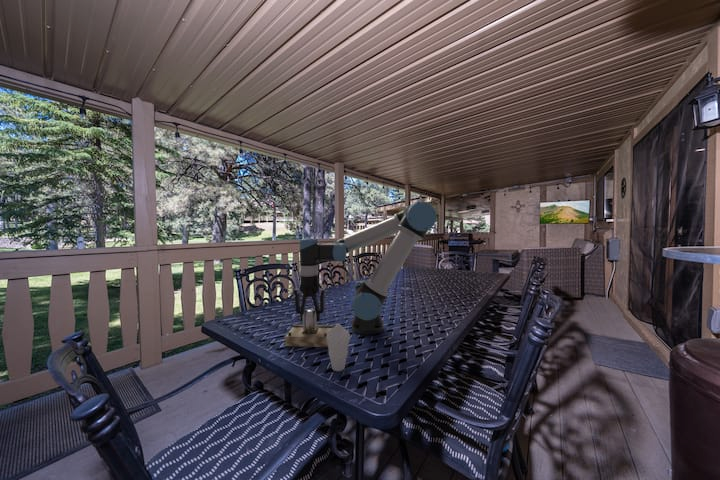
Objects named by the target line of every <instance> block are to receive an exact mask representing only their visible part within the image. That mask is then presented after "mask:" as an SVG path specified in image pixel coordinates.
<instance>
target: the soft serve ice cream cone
mask: <svg viewBox="0 0 720 480" xmlns="http://www.w3.org/2000/svg"><path fill="white" fill-rule="evenodd" d="M326 339H327V342H328V347H327V348H328V356H329V360H330V365H331V369H332V370H333V371H335V372H342V371H343V370H345V367H346V361H347V356H348V353H349V352H348V350H349V349H348V348H349V343H350V341H351V334H350V332H349V331H348V330H347V329H345V328H344V327H343V326H342V325H341V324H340V323H338V322H337V323H336V324H335V326H333V328H332V329H331V330H330V331H329V333H327V336H326Z"/></svg>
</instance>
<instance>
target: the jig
mask: <svg viewBox="0 0 720 480" xmlns="http://www.w3.org/2000/svg"><path fill="white" fill-rule="evenodd" d="M332 328H334V324H318V328H317V330H316V334H305V330H303V324H297V323H296V324H293V325H292V327H291V329H290V330H289V331H288V332H287V333H286V335H285V336H284V345H285V347H308V348H309V347H312V348H316V347H317V348H328V342H327V339H326V336H327V333H329V331H330V330H331V329H332Z"/></svg>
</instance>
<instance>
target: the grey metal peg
mask: <svg viewBox="0 0 720 480" xmlns="http://www.w3.org/2000/svg"><path fill="white" fill-rule="evenodd" d="M304 313H305V334H316V330H315V324H314V315H315V313H316V311H315V308H308V309H307V308H306V309H305V310H304Z"/></svg>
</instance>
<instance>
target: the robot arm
mask: <svg viewBox="0 0 720 480" xmlns="http://www.w3.org/2000/svg"><path fill="white" fill-rule="evenodd" d="M437 217H438V215H437V211H436V209H435V208H434V206H433V205H432V204H431V203H429V202H426V201H421V200H418V201H415V202H413V203H411V204H410V205H408V206H406V208H404V209H403V210H400V211H397V212H396V213H394V215H393V216H391V217H390V218H387V219H385V220H381V221H380V222H377V223H375V224H373V225H370V226H368V227H366V228H363V229H361V230H359V231H356V232H353V233H352V234H349V235H346V236H344V237H342V238H341V237H340V238H339V239H336V240H333V241H332V242H324V243H323V242H319V241H318V238H316V237H315V238H314V237H313V238H312V237H310V238H301V240H300V241H299V250H298V251H299V274H300V277H299V278H300V279H299V281H300V286H299V287H298V288H295V289H294V290H293V294H294V301H295V313H297V314H299V315H300V316H299V319H300V322H302V325H303V330H305V310H306V309H305V308H306V304H307V299H308V298H309V297H310V298H311V299H312V303H313V306H314V309H315V315H314V324H315V330H317V328H318V325H319V324H318V322H320V320H321V314H323V313H324V312H325V293H326V288H321V287H320V285H319V275H318V274H319V262H322V261H324V262H331V261H332V262H342V261H345V260H346V259H347V254H349V253H351V252H353V251H357V250H359V249H361V248H364V247H366V246H369V245H371V244H374V243H376V242H378V241H380V240H383V239H385V238H389V237H391V236H394V235H395V236H394V238H393V240H392V241H391V243H390V244H389V246H388V248H387V249H386V251H385V253H384V255H383V256H382V257H381V260H380V261H379V263H378V264H377V265H376V268H375V270H373V273H372V274H371V276H370V278H368V279H365V280H356V281H355V283H354V297H353V299H352V302H351V303H352V304H351V306H352V311H353V313H354V314H353V315H354V316H353V319H352V320H351V321H352V322H351V331H352V332H353V333H356V334H358V335H364V336H365V335H366V336H371V335H377V334H380V333H381V332H383V331H384V322H383V320H382V316H381V311H382V307H383V305H384V302H386V299H387V298H388V296H389V295H388V293H389V292H388V289H389V287H390V286H391V284H392V282H393V281H394V279H395V278H396V276H397V274H398V273H399V271H400V270H401V268H402V266H403V264H404V263H405V262H406V260H407V258H408V256H409V255H410V253H411V252H412V251H413V250H412V249H413V248H414V247H415V245H416V243H417V242H418V241H421V240H423V239H424V238H425V237H426V236H425V235H426V234H427V233H428V231H429V230H431V228H432V227H434V226H435V224H436V221H437ZM318 292H319V294H320V296H319V300H320V302H319V301H318V298H317V297H318V296H317V293H318ZM300 293H301V294H302V300H301V299H300V297H301V296H300V295H301V294H300ZM300 301H301V303H300Z"/></svg>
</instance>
